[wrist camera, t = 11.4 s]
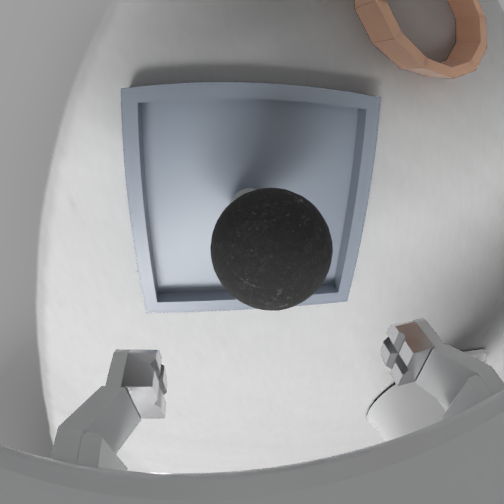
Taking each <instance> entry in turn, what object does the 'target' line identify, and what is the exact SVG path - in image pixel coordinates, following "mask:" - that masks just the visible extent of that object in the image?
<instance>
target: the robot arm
mask: <svg viewBox="0 0 504 504" xmlns="http://www.w3.org/2000/svg"><path fill="white" fill-rule="evenodd" d="M386 334H387V335H388V338H387V339H386V340H385V341H384V342H383V344H382V347H381V356H382V359H383V362H384V363H385V365H386V366H388V367H389V368H391V372H390V374H391V376H392V378H393V380H394V382H395V383H396V384H395V385H393V386H392V387H391V388H389V389H388V390H387V391H386V392H385V393H383V394H382V395H381V396H380V397H379V398H378V399H377V400H376V401H375V403H374V404H373V405H372V407H371V408H370V410H369V412H368V415H367V419H368V421H369V422H370V423H371V424H372V425H373V426H374V427H375V429H376V430H377V431H378V432H379V433H380V435H381V436H382V438H383V439H384V440H385V442H383V443H380V444H376V445H373V446H370V447H366V448H363V449H359V450H355V451H352V452H348V453H344V454H340V455H336V456H331V457H327V458H322V459H318V460H313V461H308V462H302V463H297V464H291V465H285V466H278V467H271V468H263V469H254V470H244V471H232V472H216V473H151V472H136V471H127V467H126V466H125V465H124V464H123V462H122V461H121V460H120V459H119V458H118V456H117V455H116V453H117V452H118V450H119V449H120V448H121V446H122V445H123V444H124V442H125V441H126V440H127V438H128V437H129V436H130V434H131V433H132V432H133V430H134V429H135V427H136V426H137V425H138V423H139V422H140V421H141V418H165V409H166V401H165V398H164V394H165V393H166V392H167V377H166V371H165V367H164V366H163V365H162V364H161V359H162V357H161V354H160V351H159V350H118V349H116V351H115V352H114V354H113V358H112V361H111V365H110V369H109V373H108V377H107V382H106V386H101V387H100V388H99V389H98V390H97V391H96V392H95V393H94V394H93V395H92V396H91V397H90V398H88V399H87V400H86V401H85V402H84V403H83V404H82V405H81V406H80V407H79V408H78V409H77V410H76V411H75V412H74V413H73V414H71V415H70V416H69V417H68V418H67V419H66V420H65V421H64V422H63V423H62V424H61V425H60V426H59V427H58V430H57V434H56V438H55V442H54V446H53V451H52V455H51V459H49V458H45V457H41V456H37V455H33V454H29V453H26V452H22V451H18V450H15V449H12V448H9V447H6V446H3V445H0V504H504V383H503V381H502V380H501V378H500V377H499V376H498V374H497V373H496V372H495V370H494V369H493V368H492V367H491V366H489V365H488V364H486V363H484V362H485V360H486V356H487V352H486V351H485V349H479V350H472V351H465V352H462V351H460V350H458V349H456V348H454V347H452V346H450V345H448V344H447V345H445V344H444V343H443V341H442V340H441V339H440V337H439V336H438V335H437V333H436V332H435V331H434V330H433V328H432V327H431V326H430V324H429V323H428V322H427V321H426V320H425V319H423V318H422V319H418V320H413V321H409V322H404V323H399V324H394V325H391V326H390V327H389V328H388V330H387V333H386Z"/></svg>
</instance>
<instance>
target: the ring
mask: <svg viewBox="0 0 504 504" xmlns="http://www.w3.org/2000/svg"><path fill="white" fill-rule="evenodd" d="M448 2H449V5H450V7H451V9H452V11H453V14H454V16H455V18H456V44H455V46H454V47H453V49H452V51H451V53H450V54H449V56H448V58H447V60H446V61H443V62H440V63H439V62H436V61H434V60H431V59H428V58H426V57H425V56H424V54H423V53H422V52H421V51H420V50H419V49H418V48H417V47H416V46H415V45H414V44H413V43H412V42H411V41H410V40H409V39H408V38H407V37H406V36H405V35H404V34H403V33H402V32H401V29H400V27H399V25H398V23H397V21H396V19H395V17H394V15H393V13H392V11H391V9H390V7H389V5H388V3H387V1H386V0H355V10H356V12H357V14H358V16H359V18H360V20H361V22H362V24H363V26H364V28H365V30H366V32H367V34H368V36H369V38H370V40H371V42H372V43H373V44H374V45H375V46H376V47H377V48H378V49H380V50H381V51H382V52H383V53H384V54H385V55H386V56H387V57H388V58H390V59H391V60H392V61H393V62H394V63H395V64H396V65H397V66H398V67H399V68H401V69H404V70H408V71H411V72H415V73H418V74H421V75H424V76H427V77H440V78H452V79H454V78H456V77H459V76H462V75H464V74H467V73H470V72H473V71H475V70H476V69H477V67H478V65H479V63H480V61H481V59H482V57H483V55H484V53H485V51H486V49H487V36H486V18H485V15H484V13H483V10H482V8H481V6H480V3H479V1H478V0H448Z"/></svg>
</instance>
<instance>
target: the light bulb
mask: <svg viewBox="0 0 504 504" xmlns="http://www.w3.org/2000/svg"><path fill="white" fill-rule="evenodd" d="M210 249H211V260H212V264H213V268H214V271H215V273H216V275H217V277H218V279H219V281H220V282H221V284H222V286H223V287H224V288H225V289H226V290H227V291H228V292H229V293H230V295H232V296H233V297H235V298H236V299H237V300H239V301H240V302H242V303H244V304H246V305H248V306H250V307H253V308H257V309H262V310H282V309H287V308H290V307H293V306H296V305H298V304H300V303H302V302H304V301H305V300H306V299H308V298H309V297H311V296H312V295H313V294H314V293H315V292H316V291H317V289H318V288H319V287H320V286H321V285H322V283H323V282H324V280H325V278H326V276H327V274H328V272H329V269H330V265H331V261H332V254H333V245H332V238H331V234H330V231H329V227H328V225H327V223H326V221H325V220H324V218H323V216H322V215H321V213H320V212H319V210H318V209H317V208H316V206H314V205H313V204H312V203H311V202H310V201H309V200H307V199H306V198H304V197H303V196H301V195H299V194H296V193H294V192H291V191H289V190H286V189H280V188H262V189H253V188H245V189H243V190H240V191H239V192H237V193H236V194H235V195H234V197H233V198H232V201H231V203H230V204H229V205H228V206H227V207H226V208H225V210H224V211H223V212H222V214H221V215H220V217H219V218H218V220H217V222H216V224H215V227H214V230H213V233H212V239H211V247H210Z"/></svg>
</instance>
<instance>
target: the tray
mask: <svg viewBox="0 0 504 504" xmlns="http://www.w3.org/2000/svg"><path fill="white" fill-rule="evenodd" d="M380 99H381V97H376V96H371V95H366V94H360V93H354V92H348V91H341V90H334V89H326V88H318V87H309V86H299V85H287V84H273V83H252V82H195V83H174V84H160V85H149V86H139V87H130V88H122V89H121V110H122V134H123V151H124V164H125V176H126V186H127V196H128V204H129V213H130V221H131V228H132V235H133V242H134V248H135V255H136V261H137V267H138V272H139V278H140V283H141V289H142V294H143V299H144V304H145V308H146V313H171V312H202V311H225V310H244V309H257V308H253V307H250V306H248V305H246V304H244V303H242V302H240V301H239V300H237V299H236V298H235V297H233V296H232V295H230V293H229V292H228V291H227V290H226V289H225V288H224V287H223V286H222V284H221V282H220V281H219V279H218V277H217V275H216V273H215V271H214V268H213V264H212V260H211V249H210V247H211V239H212V233H213V230H214V227H215V224H216V222H217V220H218V218H219V217H220V215H221V214H222V212H223V211H224V210H225V208H226V207H227V206H228V205H229V204H230V203H231V201H232V198H233V197H234V195H235V194H236V193H237V192H239V191H240V190H243V189H245V188H253V189H262V188H280V189H286V190H289V191H291V192H294V193H296V194H299V195H301V196H303V197H304V198H306V199H307V200H309V201H310V202H311V203H312V204H313V205H314V206H316V208H317V209H318V210H319V212H320V213H321V215H322V216H323V218H324V220H325V221H326V223H327V225H328V227H329V231H330V234H331V238H332V245H333V254H332V261H331V265H330V269H329V272H328V274H327V276H326V278H325V280H324V282H323V283H322V285H321V286H320V287H319V288H318V289H317V291H316V292H315V293H314V294H313V295H312V296H311V297H309V298H308V299H306V300H305V301H304V302H302V303H300V304H298V305H296V306H302V305H314V304H325V303H335V302H346V301H347V300H348V296H349V292H350V287H351V283H352V279H353V274H354V270H355V266H356V261H357V256H358V252H359V247H360V242H361V237H362V232H363V226H364V221H365V215H366V210H367V204H368V198H369V192H370V185H371V179H372V172H373V164H374V157H375V149H376V141H377V132H378V122H379V111H380Z"/></svg>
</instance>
